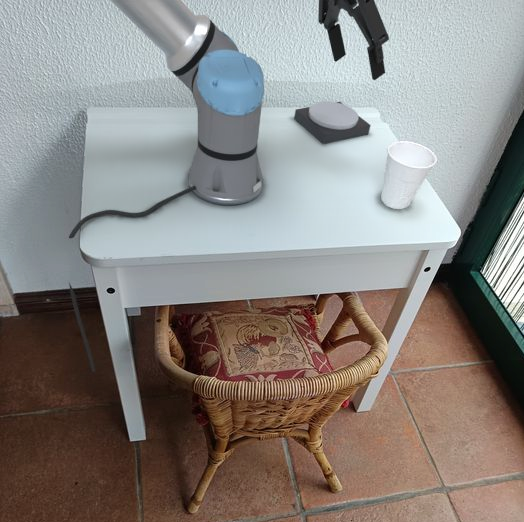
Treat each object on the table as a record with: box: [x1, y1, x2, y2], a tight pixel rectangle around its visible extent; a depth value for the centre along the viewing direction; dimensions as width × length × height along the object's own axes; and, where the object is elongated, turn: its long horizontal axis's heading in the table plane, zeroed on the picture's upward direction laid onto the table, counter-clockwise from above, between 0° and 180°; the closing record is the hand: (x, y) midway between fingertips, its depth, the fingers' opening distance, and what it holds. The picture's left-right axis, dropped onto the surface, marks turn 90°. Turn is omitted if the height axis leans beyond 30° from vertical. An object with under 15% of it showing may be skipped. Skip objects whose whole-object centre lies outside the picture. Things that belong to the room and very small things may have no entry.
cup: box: [380, 140, 438, 210], centre depth 100 cm, size 10×10×11 cm
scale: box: [293, 100, 371, 145], centre depth 122 cm, size 14×13×3 cm
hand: (358, 66), depth 103 cm, fingers open, 13 cm apart
